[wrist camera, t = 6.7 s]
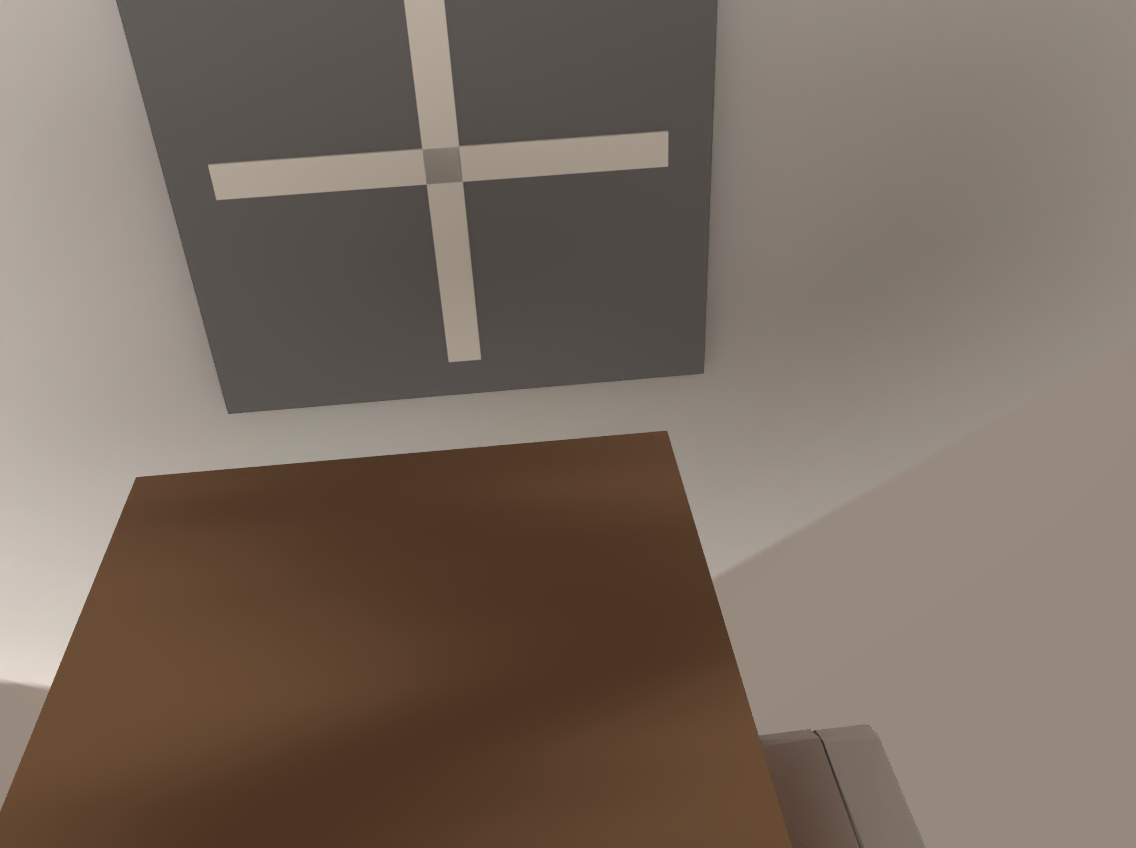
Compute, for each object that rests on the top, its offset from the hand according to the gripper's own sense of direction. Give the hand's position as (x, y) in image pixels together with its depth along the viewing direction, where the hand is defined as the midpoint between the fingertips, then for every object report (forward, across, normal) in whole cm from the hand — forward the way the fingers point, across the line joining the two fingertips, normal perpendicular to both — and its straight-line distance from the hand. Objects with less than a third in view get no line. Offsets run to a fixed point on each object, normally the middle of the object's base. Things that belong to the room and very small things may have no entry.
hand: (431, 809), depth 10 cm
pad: (+17, 0, 0) cm, 17 cm away
